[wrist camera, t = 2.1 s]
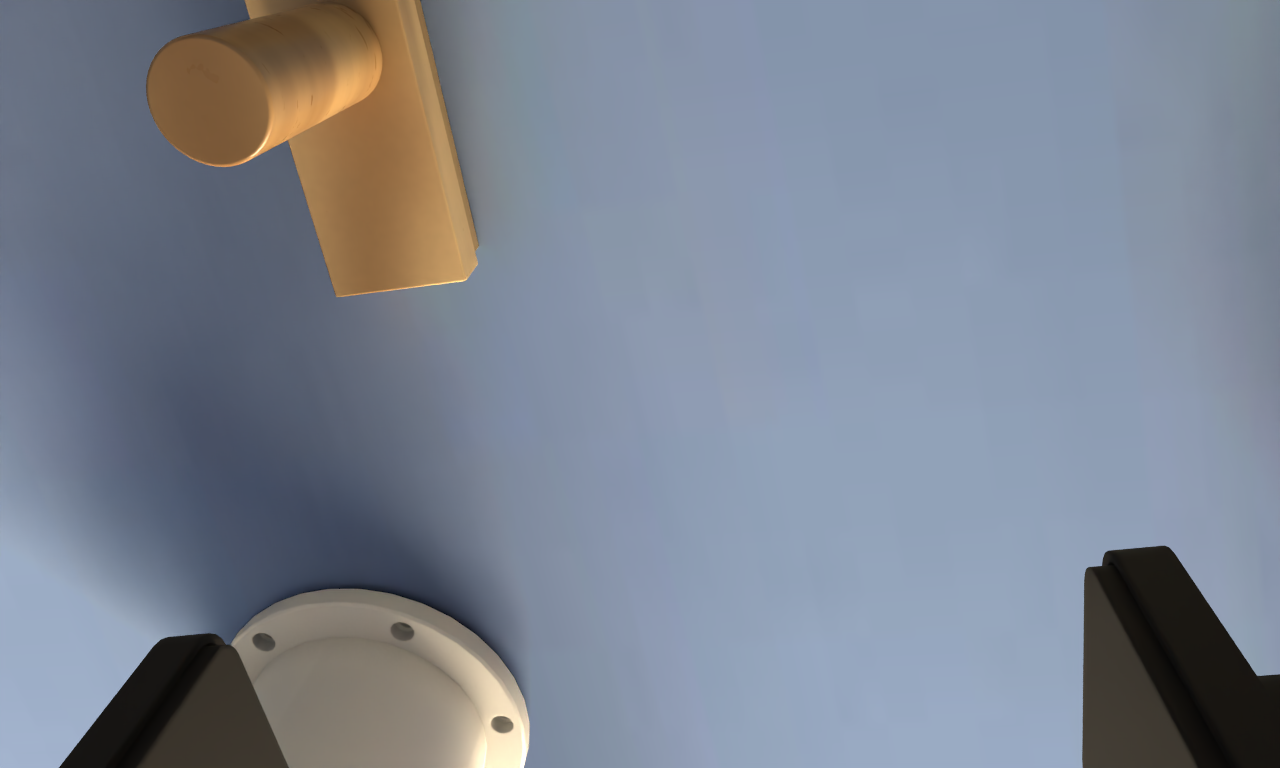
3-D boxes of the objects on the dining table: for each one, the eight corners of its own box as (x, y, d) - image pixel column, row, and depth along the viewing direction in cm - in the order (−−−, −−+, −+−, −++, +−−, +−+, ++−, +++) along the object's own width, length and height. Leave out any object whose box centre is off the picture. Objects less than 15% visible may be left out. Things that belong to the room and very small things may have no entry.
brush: (369, 264, 32) (226, 407, 23) (232, -207, 26) (-27, -263, 17) (489, 248, 31) (391, 388, 22) (375, -238, 26) (184, -312, 17)
